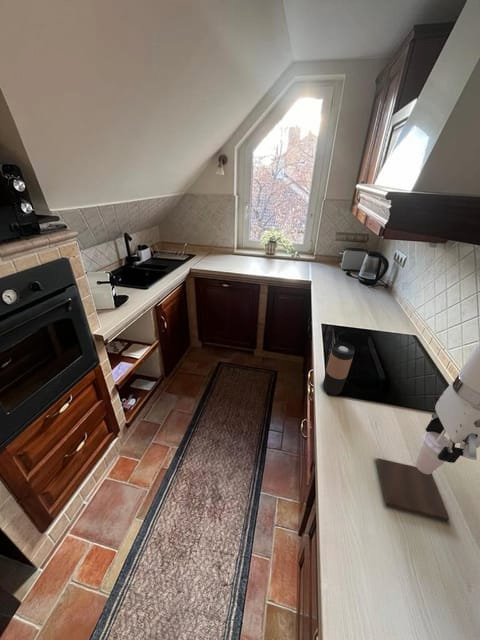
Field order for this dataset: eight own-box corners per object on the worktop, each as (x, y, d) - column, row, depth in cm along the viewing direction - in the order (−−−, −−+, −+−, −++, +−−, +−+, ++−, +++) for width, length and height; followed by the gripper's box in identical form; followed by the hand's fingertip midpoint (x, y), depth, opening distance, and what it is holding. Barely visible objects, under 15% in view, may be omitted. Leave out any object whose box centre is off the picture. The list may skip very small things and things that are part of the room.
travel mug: (317, 384, 102) (328, 344, 91) (332, 379, 104) (344, 339, 94) (330, 398, 96) (343, 356, 85) (346, 392, 98) (360, 351, 88)
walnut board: (428, 473, 73) (430, 470, 72) (446, 521, 63) (449, 518, 62) (375, 460, 75) (377, 457, 75) (385, 505, 65) (387, 502, 65)
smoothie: (410, 449, 67) (431, 414, 60) (439, 464, 64) (465, 429, 57) (407, 469, 63) (430, 434, 56) (438, 486, 60) (466, 450, 53)
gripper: (532, 433, 42) (477, 488, 51) (475, 365, 56) (441, 418, 66) (479, 423, 43) (435, 479, 53) (437, 359, 58) (409, 412, 67)
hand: (439, 445), depth 59 cm, fingers closed on smoothie, 6 cm apart
